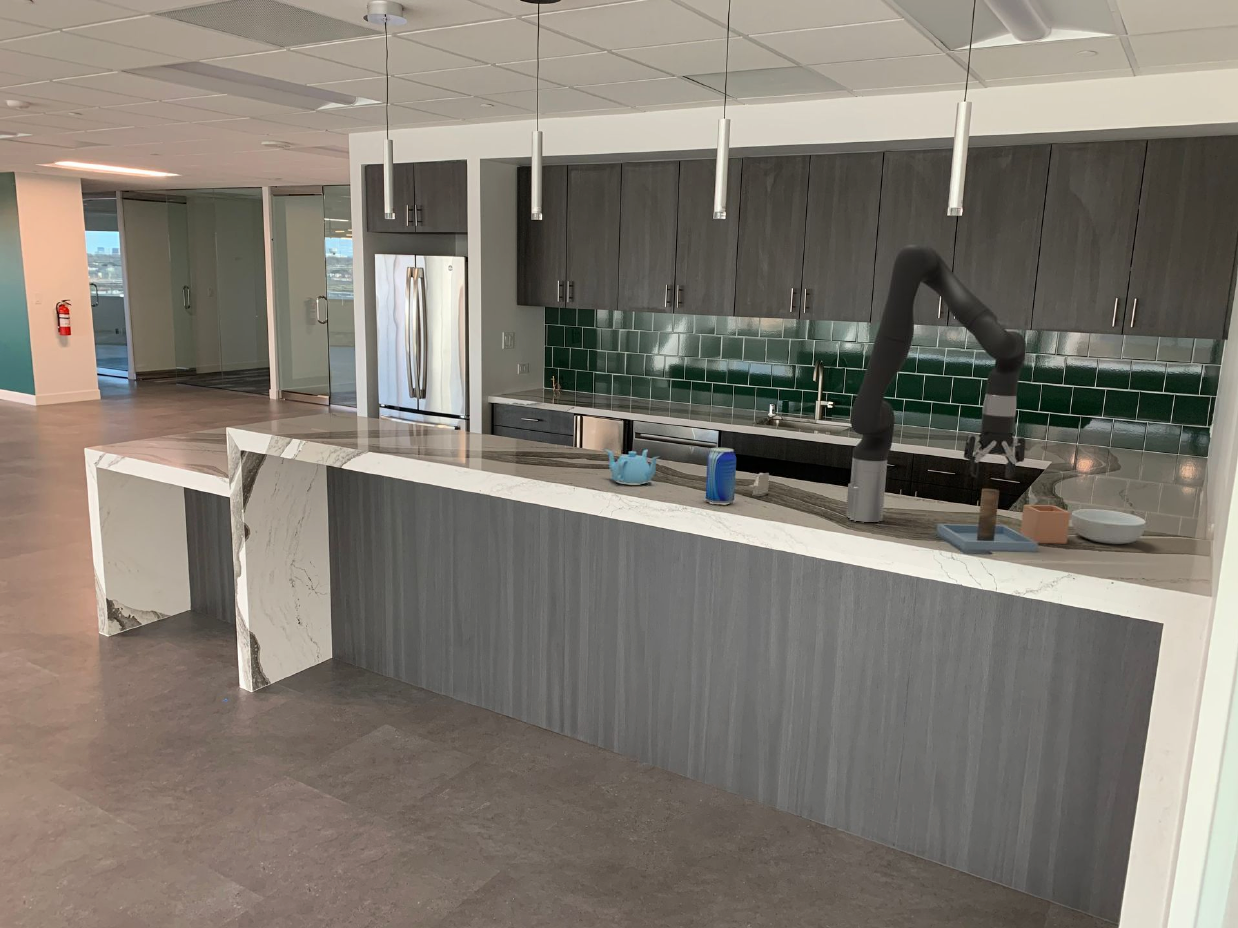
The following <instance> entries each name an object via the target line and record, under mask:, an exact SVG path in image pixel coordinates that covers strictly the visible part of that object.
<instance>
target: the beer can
mask: <svg viewBox="0 0 1238 928" xmlns="http://www.w3.org/2000/svg"><path fill="white" fill-rule="evenodd" d="M734 451H735V450H734V449H733V448H728V447H711V449H710V452H709V453H708V454H707V458H706V460H707V462H706V481H705V500H706V501H707V502H708V501H709V502H713V503H731V502H732V503H733V502H734V500H735V492H736V491H735V490H736V489H735V488H736V471H737V470H736V468H737V457H736V454H735V453H734ZM732 503H731V504H732Z"/></svg>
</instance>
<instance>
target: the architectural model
mask: <svg viewBox="0 0 1238 928" xmlns="http://www.w3.org/2000/svg"><path fill="white" fill-rule="evenodd" d="M769 478H770V473H769V472H765V473H763V472H759V473H758V476H757V477H756V478H755V481H753V482H752V483H753V484H750V485H749V486H748V487H750V488H752V495H753V494H762V493H764V492H768V493H769V486H770V483H769Z"/></svg>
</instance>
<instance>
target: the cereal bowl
mask: <svg viewBox="0 0 1238 928" xmlns="http://www.w3.org/2000/svg"><path fill="white" fill-rule="evenodd" d="M1070 521H1071V525H1072V528H1073V530H1074V531H1075V532H1076V534H1078V535H1080V536H1081V537H1083V538H1085V539H1087V540H1089V541H1092V542H1096V543H1101V544H1108V545H1123V544H1129V543H1134V542H1135V541H1137V540H1139V539H1140V538H1141V536H1143V534H1144V532H1145V528H1146V521H1145V519H1144V518H1142V517H1140V516H1137V515H1134V514H1130V513H1126V512H1120V511H1116V510H1107V509H1097V508H1096V509H1093V508H1087V509H1085V508H1083V509H1077V510H1073V511H1072V512H1071V517H1070Z"/></svg>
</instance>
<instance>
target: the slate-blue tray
mask: <svg viewBox="0 0 1238 928" xmlns="http://www.w3.org/2000/svg"><path fill="white" fill-rule="evenodd" d="M977 534H978V524H965V523H964V524H962V523H960V524H959V523H958V524H957V523H956V524H955V523H954V524H953V523H952V524H951V523H937V524H936V532H935V535H936V537H938V538H940V539H942V540H943V541H945V542H946V543H948V544H949V545H950V546H952V547H953V548H955V549H957V550H958V551H960V552H961V553H963V554H968V555H969V554H971V555H972V554H974V555H979V554H981V555H982V554H984V555H994V553H993V552H1019V553H1020V552H1025V553H1026V552H1027V553H1028V552H1029V553H1038V549H1039V548H1038V547H1039V543H1037V542H1035V541H1034V540H1032V539H1030V538H1028V537H1026V536H1024V535H1022V534H1021V532H1019V531H1017V530H1014V529H1012V528H1010V527H1008V526H1007V525H1005V524H1004V525H1003V524H1002V525H1001V524H1000V525H999V524H996V526H995V536H994V541H977Z"/></svg>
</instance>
